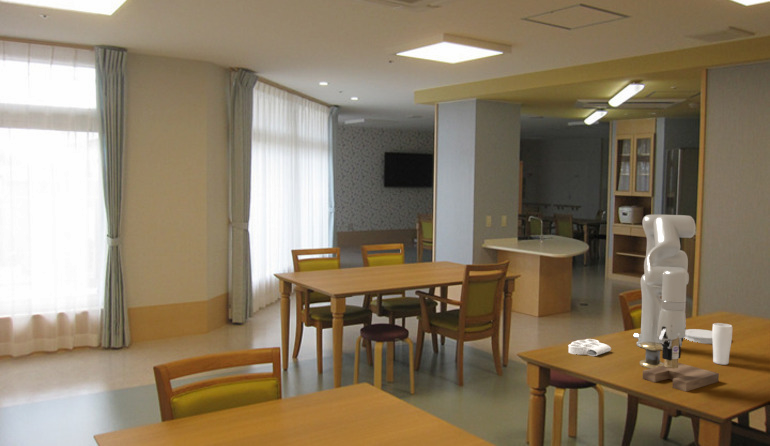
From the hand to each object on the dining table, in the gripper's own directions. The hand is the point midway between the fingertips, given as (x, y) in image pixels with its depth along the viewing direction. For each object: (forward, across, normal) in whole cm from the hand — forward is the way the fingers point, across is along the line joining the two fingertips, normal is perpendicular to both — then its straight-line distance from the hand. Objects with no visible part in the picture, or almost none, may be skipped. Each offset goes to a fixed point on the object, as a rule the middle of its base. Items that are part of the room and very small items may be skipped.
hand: (671, 357), depth 212 cm
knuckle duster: (+9, -10, -43) cm, 45 cm away
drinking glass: (+9, -40, -4) cm, 41 cm away
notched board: (+9, -6, 0) cm, 11 cm away
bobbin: (+9, -14, -16) cm, 23 cm away
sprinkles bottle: (+3, 0, 0) cm, 3 cm away
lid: (+9, -73, -28) cm, 79 cm away
